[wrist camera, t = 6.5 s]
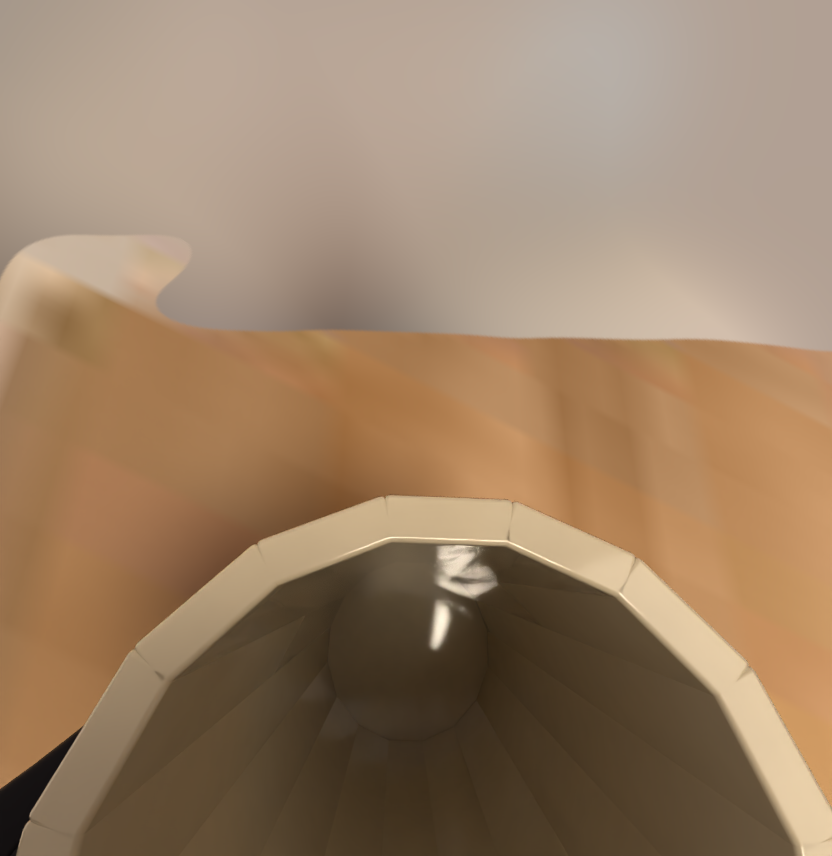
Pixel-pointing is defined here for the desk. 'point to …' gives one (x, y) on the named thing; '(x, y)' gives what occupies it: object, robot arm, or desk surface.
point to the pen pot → (433, 707)
